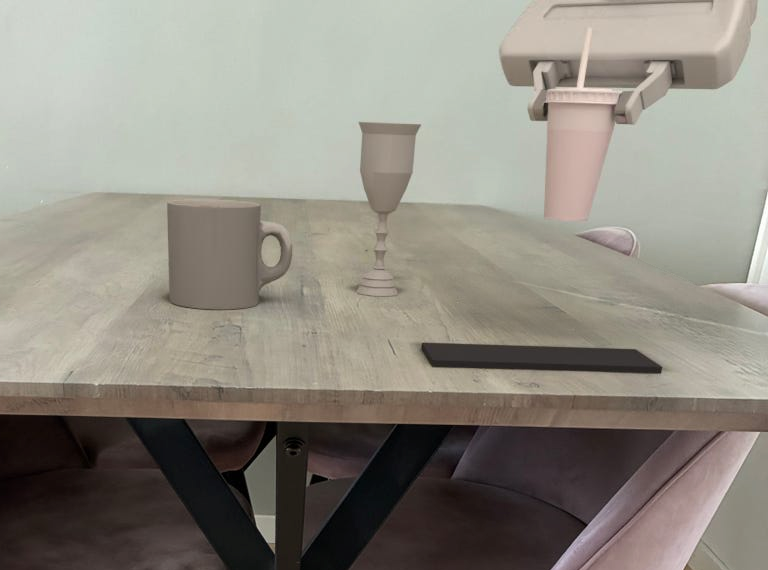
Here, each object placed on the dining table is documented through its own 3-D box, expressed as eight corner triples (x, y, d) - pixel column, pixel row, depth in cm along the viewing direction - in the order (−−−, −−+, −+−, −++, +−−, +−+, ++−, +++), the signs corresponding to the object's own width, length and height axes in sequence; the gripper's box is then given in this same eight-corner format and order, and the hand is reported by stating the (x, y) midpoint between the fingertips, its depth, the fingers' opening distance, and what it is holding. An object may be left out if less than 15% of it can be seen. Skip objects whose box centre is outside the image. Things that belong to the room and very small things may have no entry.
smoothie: (541, 213, 87) (568, 31, 80) (612, 219, 84) (646, 31, 77) (518, 218, 82) (544, 24, 75) (592, 224, 79) (627, 24, 72)
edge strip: (634, 355, 89) (635, 349, 88) (661, 373, 83) (662, 366, 82) (420, 349, 88) (421, 342, 88) (432, 366, 82) (432, 359, 82)
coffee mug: (160, 306, 102) (157, 204, 97) (180, 291, 111) (178, 197, 106) (284, 313, 101) (287, 210, 96) (294, 298, 110) (297, 203, 105)
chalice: (379, 285, 119) (391, 122, 111) (418, 294, 115) (434, 124, 106) (335, 290, 115) (345, 121, 106) (375, 299, 111) (388, 123, 102)
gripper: (532, -42, 84) (459, 82, 82) (775, -59, 72) (697, 85, 70) (547, 23, 89) (479, 141, 87) (776, 17, 77) (704, 153, 75)
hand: (579, 116), depth 79 cm, fingers closed on smoothie, 6 cm apart
